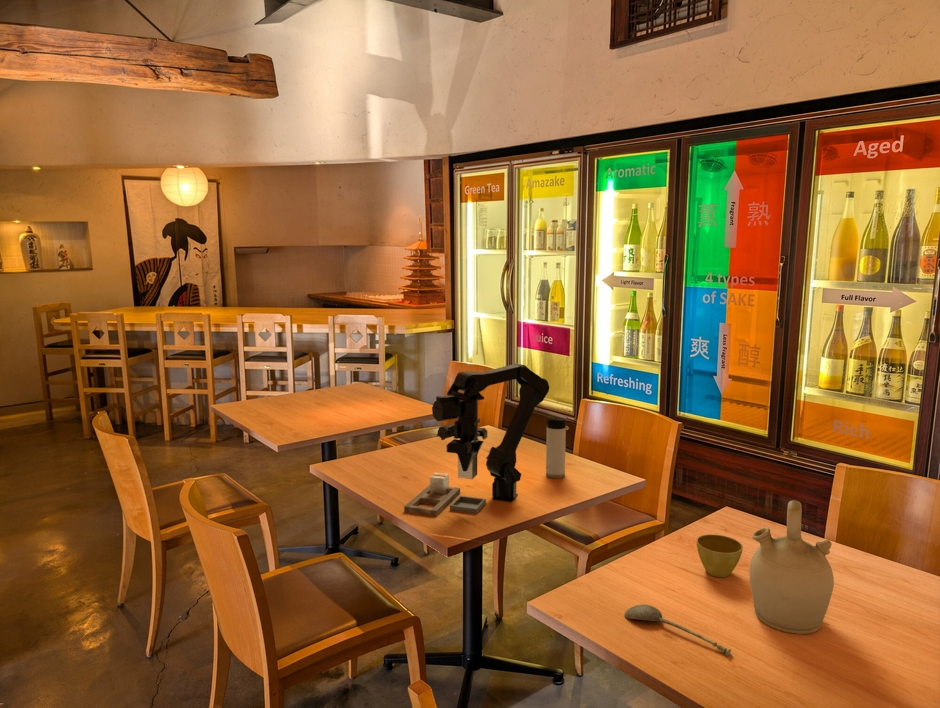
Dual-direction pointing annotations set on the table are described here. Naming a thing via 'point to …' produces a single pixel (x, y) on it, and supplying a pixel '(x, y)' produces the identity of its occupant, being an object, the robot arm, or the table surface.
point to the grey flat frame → (431, 502)
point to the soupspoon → (655, 615)
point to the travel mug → (555, 447)
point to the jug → (791, 578)
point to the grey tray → (468, 504)
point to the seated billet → (439, 484)
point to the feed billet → (471, 469)
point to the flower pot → (719, 554)
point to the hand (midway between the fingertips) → (467, 468)
